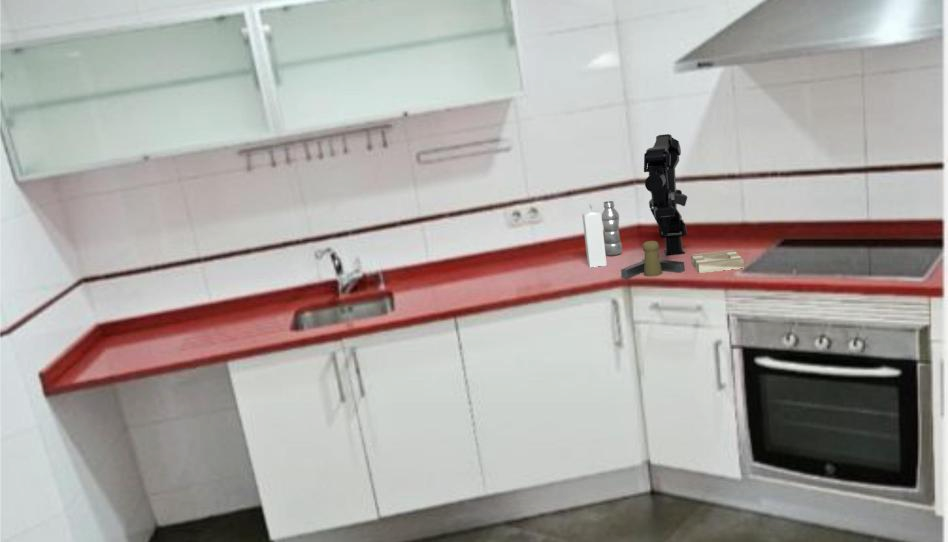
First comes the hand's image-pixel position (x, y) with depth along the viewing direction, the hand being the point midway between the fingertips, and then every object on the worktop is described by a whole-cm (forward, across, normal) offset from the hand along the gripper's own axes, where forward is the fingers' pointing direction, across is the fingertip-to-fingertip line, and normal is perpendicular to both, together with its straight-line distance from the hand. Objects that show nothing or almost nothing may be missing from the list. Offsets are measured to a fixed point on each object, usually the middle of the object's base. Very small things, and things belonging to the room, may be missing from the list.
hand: (663, 232), depth 272 cm
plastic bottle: (+13, +26, +16) cm, 33 cm away
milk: (+12, +13, +23) cm, 29 cm away
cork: (+12, -8, +6) cm, 15 cm away
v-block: (+12, -5, +6) cm, 14 cm away
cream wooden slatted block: (+12, -7, -15) cm, 21 cm away
